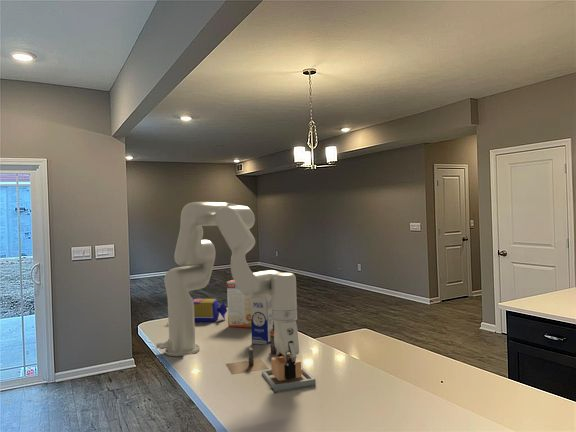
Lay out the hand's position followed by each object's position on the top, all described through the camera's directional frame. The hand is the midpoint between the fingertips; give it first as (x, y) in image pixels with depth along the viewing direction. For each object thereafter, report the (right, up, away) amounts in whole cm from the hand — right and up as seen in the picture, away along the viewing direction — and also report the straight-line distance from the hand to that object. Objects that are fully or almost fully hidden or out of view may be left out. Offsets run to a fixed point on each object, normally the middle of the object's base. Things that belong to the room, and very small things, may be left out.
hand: (286, 373), depth 124 cm
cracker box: (-19, -4, +66) cm, 69 cm away
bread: (-42, -4, +80) cm, 90 cm away
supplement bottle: (-3, -3, +24) cm, 25 cm away
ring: (0, 0, 0) cm, 0 cm away
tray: (+1, -2, 0) cm, 2 cm away
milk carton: (-9, -3, +40) cm, 41 cm away
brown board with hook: (-13, -3, +11) cm, 17 cm away
